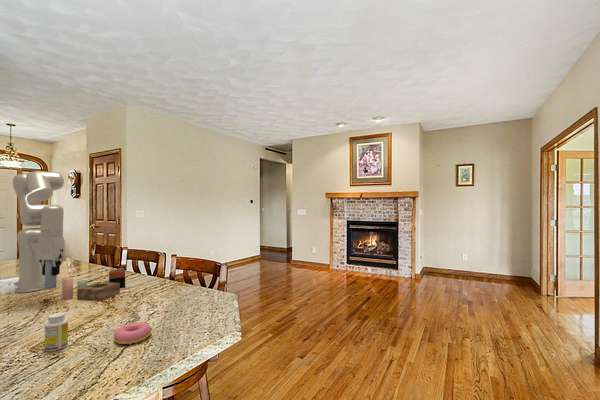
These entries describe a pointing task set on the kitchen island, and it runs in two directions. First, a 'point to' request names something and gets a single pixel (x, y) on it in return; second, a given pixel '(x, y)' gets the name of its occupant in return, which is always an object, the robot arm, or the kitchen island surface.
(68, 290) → the medium dowel
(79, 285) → the short dowel
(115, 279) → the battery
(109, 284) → the hole block
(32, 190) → the robot arm
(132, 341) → the doughnut
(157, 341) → the kitchen island surface
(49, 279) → the tall dowel
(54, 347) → the supplement bottle
